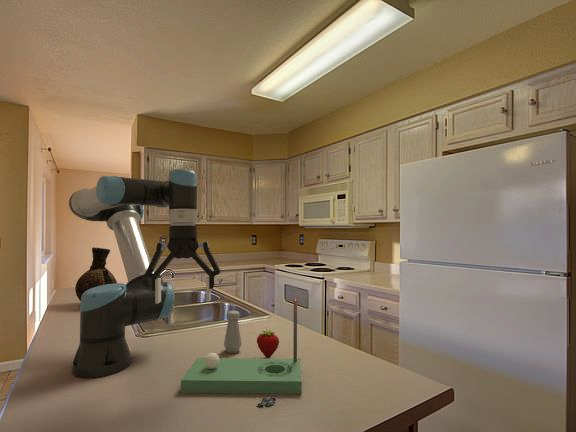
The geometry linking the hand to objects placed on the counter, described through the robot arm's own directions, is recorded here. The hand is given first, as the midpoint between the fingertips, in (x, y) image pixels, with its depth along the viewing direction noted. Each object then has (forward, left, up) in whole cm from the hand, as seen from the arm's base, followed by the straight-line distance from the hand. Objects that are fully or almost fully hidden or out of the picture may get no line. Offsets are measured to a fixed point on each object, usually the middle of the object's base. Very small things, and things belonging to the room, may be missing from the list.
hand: (183, 301), depth 93 cm
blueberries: (+24, -13, -21) cm, 35 cm away
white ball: (+9, -2, -15) cm, 18 cm away
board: (+18, -2, -20) cm, 27 cm away
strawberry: (+23, +13, -21) cm, 33 cm away
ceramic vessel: (-69, +77, -21) cm, 105 cm away
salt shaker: (+11, +19, -21) cm, 30 cm away
